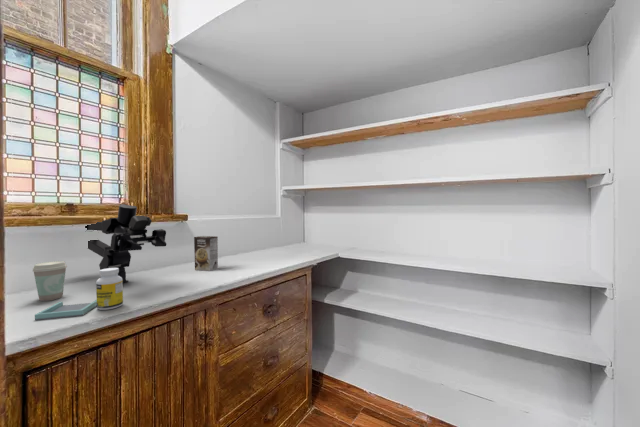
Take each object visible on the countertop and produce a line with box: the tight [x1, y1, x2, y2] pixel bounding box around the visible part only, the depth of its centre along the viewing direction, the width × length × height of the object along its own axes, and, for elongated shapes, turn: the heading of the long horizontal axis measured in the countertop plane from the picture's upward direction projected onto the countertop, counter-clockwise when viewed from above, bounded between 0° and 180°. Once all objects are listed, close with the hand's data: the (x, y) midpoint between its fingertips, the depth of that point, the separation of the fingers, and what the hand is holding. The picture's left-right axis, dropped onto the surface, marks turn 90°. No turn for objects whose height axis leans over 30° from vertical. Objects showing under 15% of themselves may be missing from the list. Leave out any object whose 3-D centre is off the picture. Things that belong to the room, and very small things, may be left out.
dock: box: [34, 299, 97, 321], centre depth 84 cm, size 11×11×2 cm
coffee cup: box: [32, 260, 68, 302], centre depth 96 cm, size 8×8×12 cm
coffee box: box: [193, 235, 219, 272], centre depth 138 cm, size 9×6×16 cm
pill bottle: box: [95, 268, 124, 311], centre depth 86 cm, size 6×6×12 cm
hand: (154, 246), depth 102 cm, fingers open, 9 cm apart
